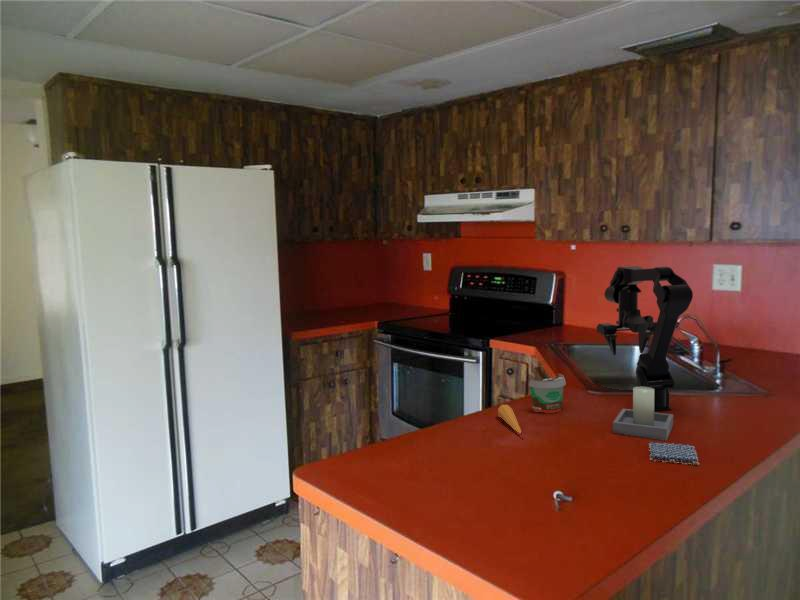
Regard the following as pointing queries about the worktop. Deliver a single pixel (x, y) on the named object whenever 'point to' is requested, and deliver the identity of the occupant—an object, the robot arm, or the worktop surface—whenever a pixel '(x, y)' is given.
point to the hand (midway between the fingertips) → (627, 354)
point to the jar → (643, 406)
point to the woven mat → (673, 453)
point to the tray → (658, 431)
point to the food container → (547, 393)
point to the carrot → (508, 417)
